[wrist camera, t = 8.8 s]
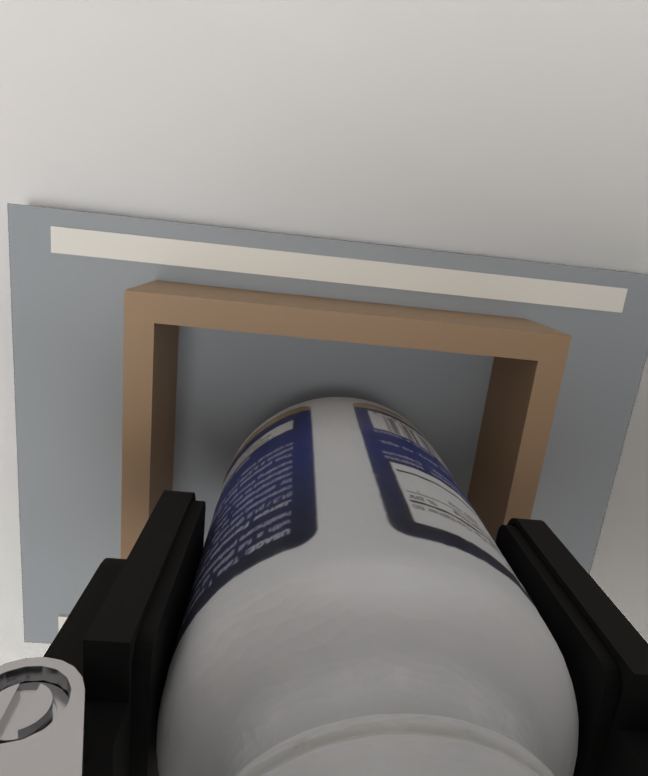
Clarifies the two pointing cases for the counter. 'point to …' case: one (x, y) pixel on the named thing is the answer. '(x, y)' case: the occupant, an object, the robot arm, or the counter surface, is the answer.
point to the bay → (296, 374)
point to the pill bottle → (358, 619)
